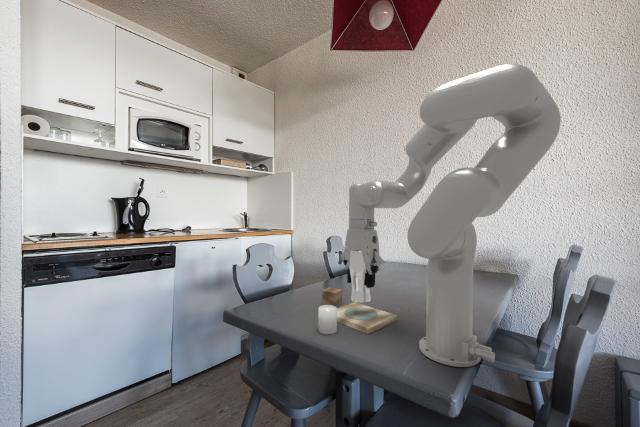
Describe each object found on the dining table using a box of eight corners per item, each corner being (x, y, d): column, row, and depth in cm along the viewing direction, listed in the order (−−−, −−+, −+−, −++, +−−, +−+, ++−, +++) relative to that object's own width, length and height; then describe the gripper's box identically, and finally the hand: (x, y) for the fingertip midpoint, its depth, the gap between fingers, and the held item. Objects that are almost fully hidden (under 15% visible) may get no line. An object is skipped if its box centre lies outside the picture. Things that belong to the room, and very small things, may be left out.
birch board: (397, 320, 81) (397, 314, 81) (368, 334, 71) (368, 327, 71) (355, 306, 92) (355, 301, 92) (325, 317, 83) (325, 311, 83)
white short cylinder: (340, 330, 73) (340, 308, 73) (327, 336, 70) (327, 312, 70) (327, 324, 77) (327, 303, 77) (314, 329, 74) (314, 307, 74)
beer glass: (372, 304, 78) (372, 251, 78) (347, 302, 79) (348, 250, 79) (372, 296, 84) (373, 248, 84) (350, 295, 86) (350, 247, 86)
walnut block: (341, 303, 95) (341, 289, 95) (335, 307, 91) (335, 292, 91) (329, 301, 98) (329, 287, 98) (322, 305, 94) (322, 290, 94)
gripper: (393, 226, 78) (392, 288, 78) (347, 223, 91) (347, 277, 91) (378, 226, 73) (377, 293, 73) (332, 224, 85) (331, 281, 86)
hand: (360, 284), depth 82 cm, fingers closed on beer glass, 6 cm apart
